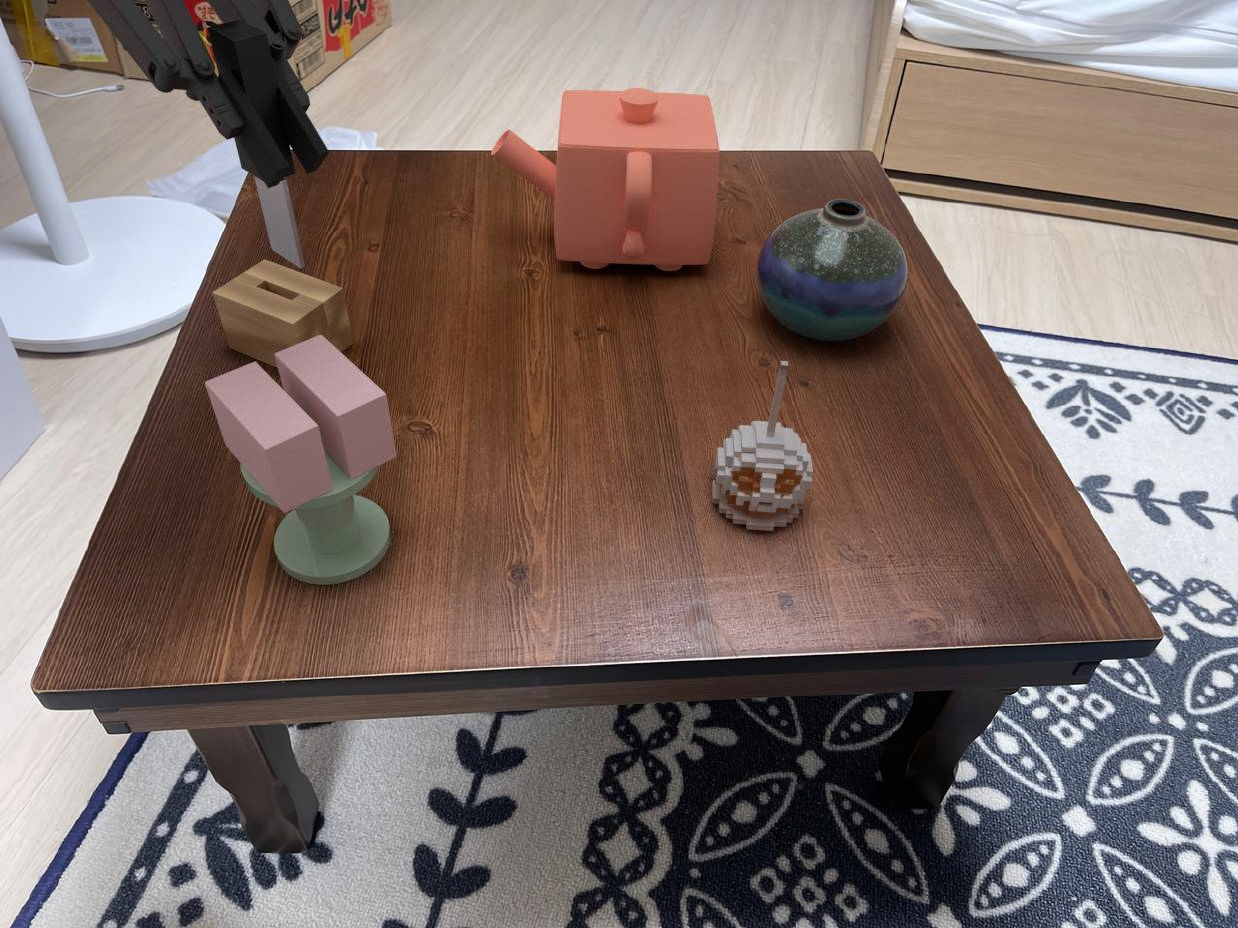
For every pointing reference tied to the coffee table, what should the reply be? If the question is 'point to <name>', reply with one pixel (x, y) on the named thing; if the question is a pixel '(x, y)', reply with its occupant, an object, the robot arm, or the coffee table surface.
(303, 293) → the knife block
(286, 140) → the knife
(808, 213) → the vase
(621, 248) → the teapot
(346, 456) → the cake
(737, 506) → the decorative ornament
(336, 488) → the cake stand
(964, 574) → the coffee table surface
